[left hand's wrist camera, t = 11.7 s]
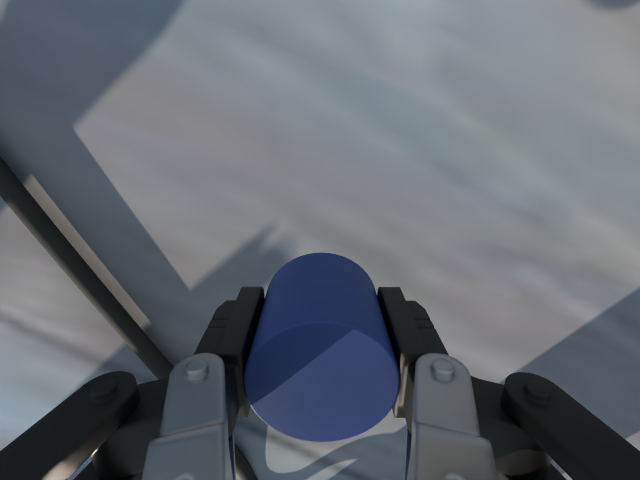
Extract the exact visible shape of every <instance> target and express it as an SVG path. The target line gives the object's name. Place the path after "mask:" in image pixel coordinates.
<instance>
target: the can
mask: <svg viewBox="0 0 640 480" xmlns="http://www.w3.org/2000/svg"><path fill="white" fill-rule="evenodd" d="M399 386H400V377H399V368H398V365H397V362H396V358H395V355H394V351H393V348H392V345H391V341H390V338H389V335H388V331H387V328H386V325H385V321H384V318H383V315H382V311H381V308H380V304H379V301H378V298H377V294H376V291H375V288H374V285H373V283H372V281H371V279H370V277H369V276H368V274H367V273H366V272H365V271H364V270H363V269H362V268H361V267H360V266H359V265H358V264H356V263H355V262H353V261H351V260H350V259H347V258H345V257H343V256H339V255H336V254H331V253H312V254H307V255H303V256H300V257H298V258H295V259H293V260H291V261H290V262H288V263H286V264H285V265H284V266H283V267H281V268H280V269H279V271H278V272H277V273H276V274H275V275H274V277H273V278H272V280H271V282H270V284H269V287H268V290H267V293H266V297H265V300H264V304H263V307H262V311H261V314H260V318H259V321H258V325H257V328H256V332H255V336H254V339H253V343H252V346H251V350H250V353H249V357H248V360H247V364H246V367H245V372H244V388H245V393H246V396H247V399H248V402H249V404H250V405H251V407H252V409H253V410H254V412H255V413H256V414H257V416H258V417H259V418H260V419H261V420H262V421H264V422H265V423H266V424H267V425H269V426H270V427H272V428H273V429H275V430H276V431H278V432H280V433H283V434H285V435H287V436H290V437H293V438H297V439H301V440H307V441H316V442H328V441H337V440H342V439H347V438H350V437H353V436H356V435H359V434H361V433H363V432H365V431H367V430H369V429H370V428H372V427H374V426H375V425H376V424H378V423H379V422H380V421H381V420H382V419H383V418H384V417H385V416H386V415H387V414H388V412H389V411H390V410H391V408H392V407H393V405H394V403H395V401H396V398H397V396H398V392H399Z"/></svg>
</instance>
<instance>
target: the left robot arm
mask: <svg viewBox="0 0 640 480" xmlns="http://www.w3.org/2000/svg"><path fill="white" fill-rule="evenodd" d="M0 196H1V197H2V198H3V200H4V201H5V202H6V203H7V204H8V206H9V207H10V208H11V209H12V210H13V211H14V213H15V214H16V215H17V216H18V217H19V219H20V220H21V221H22V222H23V223H24V225H25V226H26V227H27V228H28V229H29V230H30V232H31V233H32V234H33V235H34V236H35V238H36V239H37V240H38V241H39V242H40V243H41V245H42V246H43V247H44V248H45V249H46V251H47V252H48V253H49V254H50V255H51V256H52V258H53V259H54V260H55V261H56V262H57V263H58V265H59V266H60V267H61V268H62V269H63V270H64V272H65V273H66V274H67V275H68V276H69V277H70V278H71V280H72V281H73V282H74V283H75V284H76V285H77V287H78V288H79V289H80V290H81V291H82V292H83V293H84V295H85V296H86V297H87V298H88V299H89V300H90V302H91V303H92V304H93V305H94V306H95V307H96V308H97V310H98V311H99V312H100V313H101V314H102V315H103V316H104V318H105V319H106V320H107V321H108V322H109V323H110V324H111V326H112V327H113V328H114V329H115V330H116V331H117V333H118V334H119V335H120V336H121V337H122V338H123V339H124V341H125V342H126V343H127V344H128V345H129V346H130V348H131V349H132V350H133V351H134V352H135V353H136V354H137V356H138V357H139V358H140V359H141V360H142V361H143V362H144V364H145V365H146V366H147V367H148V368H149V369H150V370H151V371H152V372H153V374H154V375H155V376H156V377H157V378H158V379H159V380H155V381H151V382H147V383H143V384H139V385H137V382H136V379H135V377H134V376H133V375H132V374H131V373H128V372H124V371H117V372H110V373H106V374H103V375H101V376H98V377H96V378H94V379H92V380H91V381H89V382H87V383H86V384H85V385H83V386H82V387H81V388H80V389H78V390H77V391H76V392H74V393H73V394H72V395H71V396H69V397H68V398H67V399H66V400H64V401H63V402H62V403H61V404H59V405H58V406H57V407H56V408H54V409H53V410H52V411H50V412H49V413H48V414H47V415H45V416H44V417H43V418H42V419H40V420H39V421H38V422H37V423H35V424H34V425H33V426H32V427H30V428H29V429H28V430H26V431H25V432H24V433H23V434H21V435H20V436H19V437H18V438H16V439H15V440H14V441H13V442H11V443H10V444H9V445H8V446H6V447H5V448H4V449H2V450H1V451H0V480H67V479H68V478H69V477H70V476H71V475H72V474H73V473H74V472H75V471H76V470H77V469H78V468H79V467H80V466H81V465H82V464H83V463H84V462H85V461H86V460H87V459H88V458H89V457H91V459H92V461H91V462H90V463H89V464H88V465H87V466H86V467H85V468H84V469H83V470H82V471H81V472H80V473H79V475H78V476H77V477H76V478H75V479H74V480H236V472H237V473H238V475H239V476H240V478H241V479H242V480H258V479H257V477H256V475H255V473H254V471H253V469H252V468H251V466H250V464H249V463H248V461H247V459H246V458H245V456H244V455H243V453H242V452H241V451H240V450H239V448H238V447H237V446H236V445H235V443H234V435H233V430H234V427H235V423H236V419H237V417H248V414H249V409H250V404H249V402H248V399H247V396H246V393H245V388H244V372H245V367H246V364H247V360H248V357H249V353H250V350H251V346H252V343H253V339H254V336H255V332H256V328H257V325H258V321H259V318H260V314H261V311H262V307H263V304H264V300H265V297H264V289H263V287H242V288H241V290H240V293H239V295H238V297H237V300H236V301H226V302H224V303H223V304H222V305H221V306H220V307H218V308H217V310H216V311H215V313H214V315H213V317H212V320H211V321H210V323H209V325H208V328H207V329H206V331H205V333H204V335H203V337H202V339H201V341H200V343H199V345H198V347H197V349H196V351H195V353H194V355H192V356H189V357H187V358H185V359H183V360H181V361H180V362H179V363H178V364H176V365H175V367H173V366H172V365H171V364H170V362H169V361H168V360H167V359H166V358H165V357H164V356H163V354H162V353H161V352H160V351H159V350H158V348H157V347H156V346H155V345H154V344H153V343H152V341H151V340H150V339H149V338H148V337H147V335H146V334H145V333H144V332H143V331H142V329H141V328H140V327H139V326H138V324H137V323H136V322H135V321H134V320H133V318H132V317H131V316H130V315H129V314H128V313H127V311H126V310H125V309H124V308H123V307H122V305H121V304H120V303H119V302H118V301H117V299H116V298H115V297H114V296H113V295H112V293H111V292H110V291H109V290H108V289H107V287H106V286H105V285H104V284H103V283H102V281H101V280H100V279H99V278H98V277H97V275H96V274H95V273H94V272H93V271H92V269H91V268H90V267H89V266H88V265H87V263H86V262H85V261H84V260H83V258H82V257H81V256H80V255H79V254H78V252H77V251H76V250H75V249H74V248H73V246H72V245H71V244H70V243H69V241H68V240H67V239H66V238H65V237H64V235H63V234H62V233H61V232H60V230H59V229H58V228H57V227H56V225H55V224H54V223H53V222H52V221H51V219H50V218H49V217H48V216H47V214H46V213H45V212H44V211H43V209H42V208H41V207H40V206H39V204H38V203H37V202H36V201H35V199H34V198H33V197H32V196H31V194H30V193H29V192H28V191H27V190H26V188H25V187H24V186H23V185H22V183H21V182H20V181H19V180H18V178H17V177H16V176H15V175H14V173H13V172H12V171H11V170H10V168H9V167H8V166H7V165H6V163H5V162H4V161H3V160H2V158H1V157H0ZM377 298H378V301H379V304H380V308H381V311H382V315H383V318H384V321H385V325H386V328H387V331H388V335H389V338H390V341H391V345H392V348H393V351H394V355H395V358H396V362H397V365H398V368H399V377H400V386H399V392H398V396H397V398H396V401H395V403H394V405H393V407H392V409H393V413H394V418H405V419H406V422H407V426H408V427H407V435H406V449H405V468H404V480H566V479H565V478H564V477H563V476H562V474H561V473H560V472H559V471H558V470H557V469H556V468H555V467H554V466H553V465H552V464H551V460H552V459H553V460H554V461H555V462H556V463H557V464H558V465H559V466H560V467H561V468H562V469H563V470H564V471H565V472H566V473H567V474H568V475H569V476H570V477H571V478H572V479H573V480H640V451H639V450H638V449H636V448H635V447H634V446H632V445H631V444H630V443H629V442H627V441H626V440H625V439H624V438H622V437H621V436H620V435H619V434H617V433H616V432H615V431H614V430H612V429H611V428H610V427H608V426H607V425H606V424H605V423H603V422H602V421H601V420H600V419H598V418H597V417H596V416H595V415H593V414H592V413H591V412H590V411H588V410H587V409H586V408H584V407H583V406H582V405H581V404H579V403H578V402H577V401H576V400H574V399H573V398H572V397H571V396H569V395H568V394H567V393H566V392H564V391H563V390H562V389H561V388H559V387H558V386H557V385H555V384H554V383H552V382H551V381H549V380H547V379H545V378H543V377H541V376H538V375H535V374H531V373H525V372H517V373H513V374H510V375H509V376H508V377H507V378H506V380H505V384H504V385H502V384H498V383H494V382H489V381H485V380H481V379H478V378H475V377H472V376H470V373H469V371H468V369H467V368H466V367H465V365H464V364H462V363H461V362H460V361H459V360H457V359H455V358H453V357H451V356H449V355H448V353H447V351H446V349H445V347H444V345H443V343H442V341H441V339H440V337H439V335H438V333H437V331H436V329H434V326H433V324H432V322H431V320H430V318H429V316H428V314H427V312H426V310H425V309H424V308H423V307H422V306H421V305H419V304H418V303H417V302H416V301H406V300H405V298H404V296H403V293H402V291H401V289H400V287H379V288H378V293H377Z"/></svg>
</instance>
